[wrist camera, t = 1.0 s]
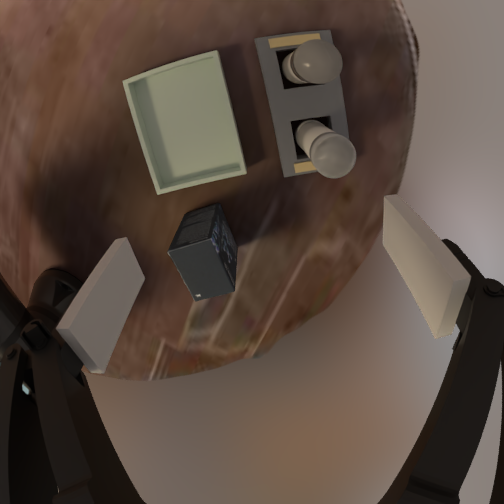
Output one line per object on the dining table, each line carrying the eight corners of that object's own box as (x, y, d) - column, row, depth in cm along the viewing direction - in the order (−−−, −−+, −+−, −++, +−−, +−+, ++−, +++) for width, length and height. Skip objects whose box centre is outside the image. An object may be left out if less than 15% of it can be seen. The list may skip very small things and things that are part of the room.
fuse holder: (347, 162, 37) (352, 167, 35) (282, 172, 38) (284, 178, 36) (325, 32, 28) (330, 29, 26) (254, 41, 29) (254, 38, 27)
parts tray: (246, 168, 38) (246, 173, 36) (162, 188, 39) (157, 194, 37) (219, 52, 30) (216, 50, 28) (129, 80, 31) (122, 81, 29)
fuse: (297, 152, 37) (315, 181, 27) (291, 121, 35) (309, 138, 25) (328, 147, 36) (357, 174, 26) (323, 117, 34) (353, 132, 24)
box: (238, 247, 45) (235, 292, 36) (204, 256, 45) (193, 302, 37) (220, 200, 41) (211, 238, 32) (183, 212, 42) (165, 252, 33)
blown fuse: (284, 85, 32) (300, 86, 22) (277, 55, 30) (290, 41, 20) (317, 81, 32) (346, 81, 22) (311, 51, 30) (337, 37, 19)
